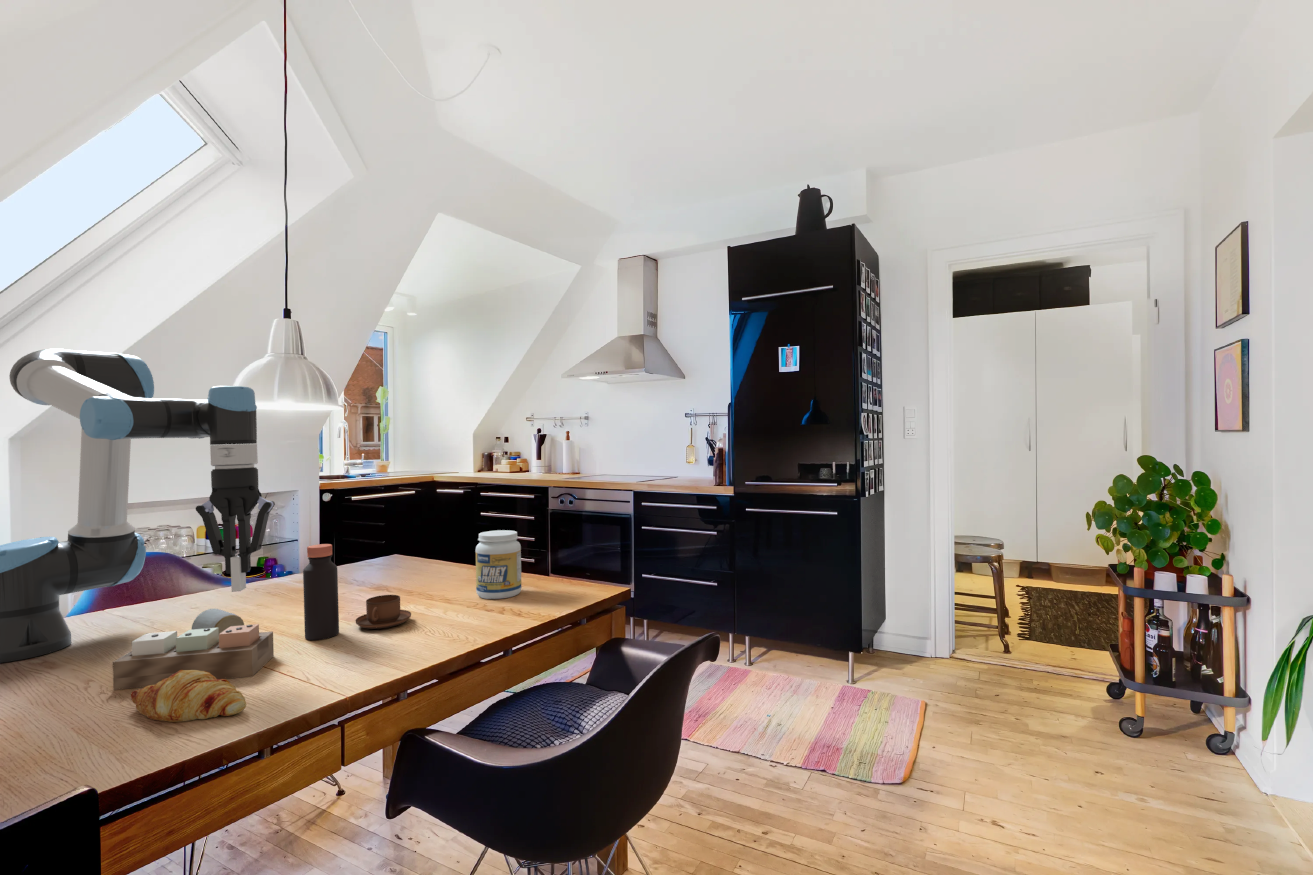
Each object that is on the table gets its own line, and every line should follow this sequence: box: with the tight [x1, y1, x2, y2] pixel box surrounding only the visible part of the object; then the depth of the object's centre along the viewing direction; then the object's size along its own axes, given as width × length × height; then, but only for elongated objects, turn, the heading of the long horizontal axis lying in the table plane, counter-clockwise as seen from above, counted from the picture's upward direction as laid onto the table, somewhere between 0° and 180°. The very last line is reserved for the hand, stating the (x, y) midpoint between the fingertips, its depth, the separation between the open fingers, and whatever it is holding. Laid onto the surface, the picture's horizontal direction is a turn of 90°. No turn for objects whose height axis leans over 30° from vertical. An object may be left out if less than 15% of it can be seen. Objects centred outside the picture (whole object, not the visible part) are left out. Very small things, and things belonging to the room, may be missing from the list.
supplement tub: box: [474, 529, 522, 600], centre depth 174 cm, size 12×12×17 cm
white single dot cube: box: [131, 630, 178, 656], centre depth 118 cm, size 5×5×4 cm
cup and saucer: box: [354, 594, 412, 630], centre depth 148 cm, size 12×12×6 cm
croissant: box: [130, 670, 247, 723], centre depth 103 cm, size 21×10×8 cm, turn 81°
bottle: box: [302, 543, 340, 641], centre depth 140 cm, size 7×7×20 cm
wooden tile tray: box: [112, 631, 275, 691], centre depth 120 cm, size 22×11×5 cm, turn 103°
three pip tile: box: [219, 623, 260, 648], centre depth 122 cm, size 5×5×4 cm
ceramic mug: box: [191, 607, 245, 634], centre depth 138 cm, size 10×8×7 cm
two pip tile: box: [176, 628, 219, 652], centre depth 120 cm, size 5×5×4 cm
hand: (238, 589), depth 121 cm, fingers closed
